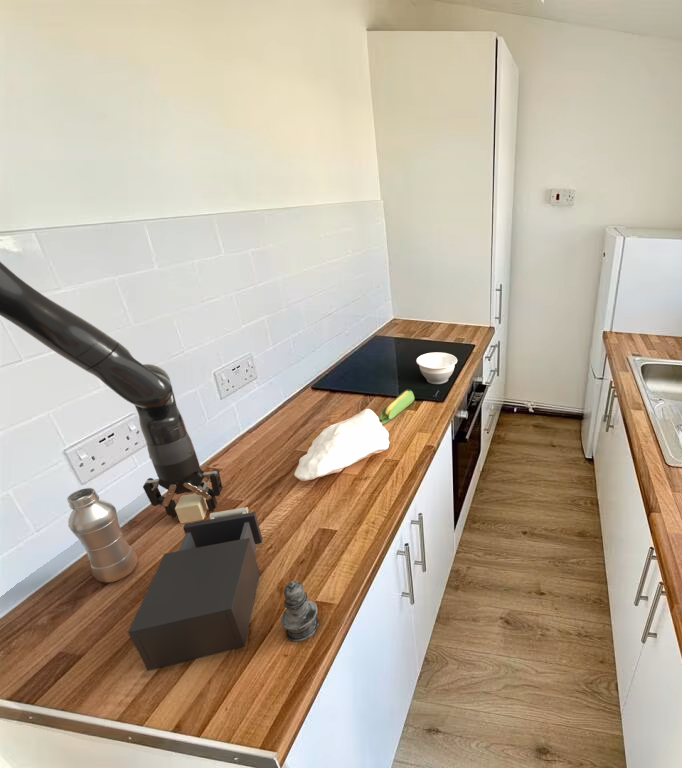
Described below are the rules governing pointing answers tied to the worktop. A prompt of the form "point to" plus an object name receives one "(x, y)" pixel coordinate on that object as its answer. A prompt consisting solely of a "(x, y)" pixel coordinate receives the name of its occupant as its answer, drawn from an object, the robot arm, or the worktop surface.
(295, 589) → the grey tiered figure
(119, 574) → the silver metal bottle
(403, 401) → the edible corn
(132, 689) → the worktop surface
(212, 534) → the drawer
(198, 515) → the block
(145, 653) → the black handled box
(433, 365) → the bowl
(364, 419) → the crumpled cloth
